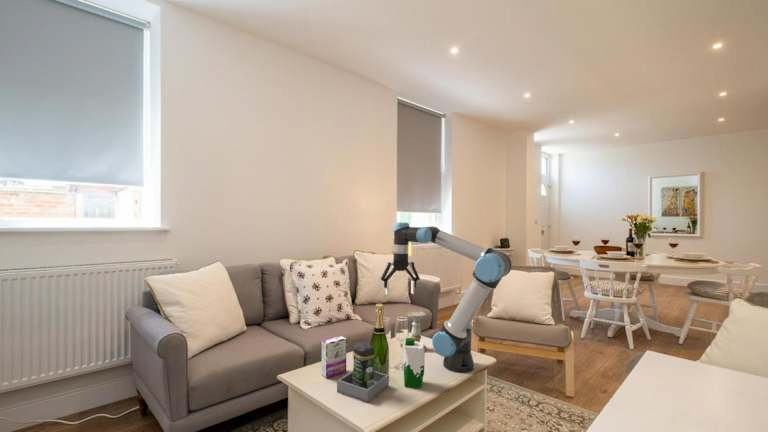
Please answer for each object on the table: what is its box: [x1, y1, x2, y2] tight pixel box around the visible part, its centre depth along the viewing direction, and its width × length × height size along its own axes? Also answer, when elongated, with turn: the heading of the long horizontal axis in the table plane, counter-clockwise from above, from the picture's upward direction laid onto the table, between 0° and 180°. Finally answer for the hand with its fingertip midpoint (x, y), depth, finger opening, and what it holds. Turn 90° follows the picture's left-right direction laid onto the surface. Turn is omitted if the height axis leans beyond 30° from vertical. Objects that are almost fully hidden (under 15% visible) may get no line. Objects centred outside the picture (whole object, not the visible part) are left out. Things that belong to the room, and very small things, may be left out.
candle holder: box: [406, 310, 428, 352], centre depth 207 cm, size 12×12×20 cm
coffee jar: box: [352, 341, 376, 389], centre depth 160 cm, size 10×8×19 cm
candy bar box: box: [321, 335, 347, 379], centre depth 174 cm, size 11×5×16 cm, turn 129°
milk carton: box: [403, 337, 426, 390], centre depth 165 cm, size 9×9×20 cm
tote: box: [336, 370, 390, 404], centre depth 160 cm, size 16×17×5 cm
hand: (399, 294), depth 189 cm, fingers open, 13 cm apart
